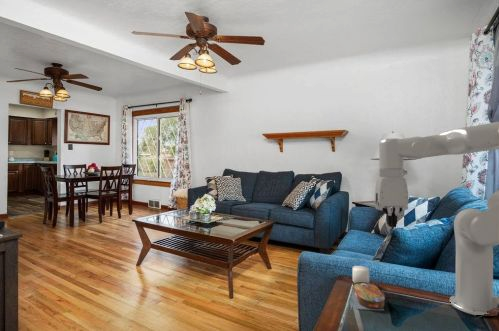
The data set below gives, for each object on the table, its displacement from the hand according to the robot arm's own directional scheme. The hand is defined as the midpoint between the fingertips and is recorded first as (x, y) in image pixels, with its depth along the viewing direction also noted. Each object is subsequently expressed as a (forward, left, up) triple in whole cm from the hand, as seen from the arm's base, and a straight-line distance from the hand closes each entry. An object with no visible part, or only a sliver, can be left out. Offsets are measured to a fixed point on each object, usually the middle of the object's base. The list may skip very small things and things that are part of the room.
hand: (391, 226), depth 101 cm
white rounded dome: (+8, -9, -24) cm, 27 cm away
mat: (+10, +4, -24) cm, 27 cm away
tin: (+5, +4, -23) cm, 24 cm away
